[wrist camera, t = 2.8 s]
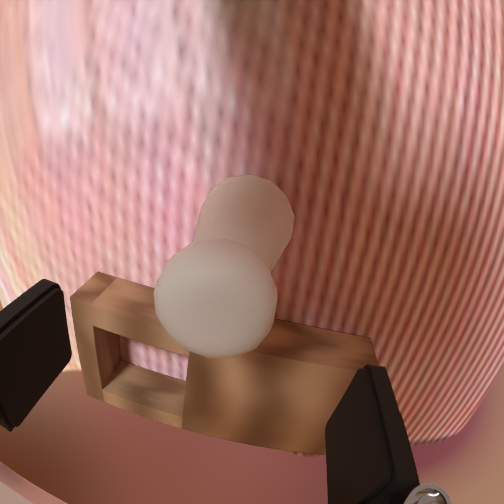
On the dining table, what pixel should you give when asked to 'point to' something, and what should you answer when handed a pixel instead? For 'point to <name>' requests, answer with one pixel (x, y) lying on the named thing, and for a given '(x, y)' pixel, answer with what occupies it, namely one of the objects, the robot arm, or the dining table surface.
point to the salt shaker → (227, 270)
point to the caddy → (217, 372)
